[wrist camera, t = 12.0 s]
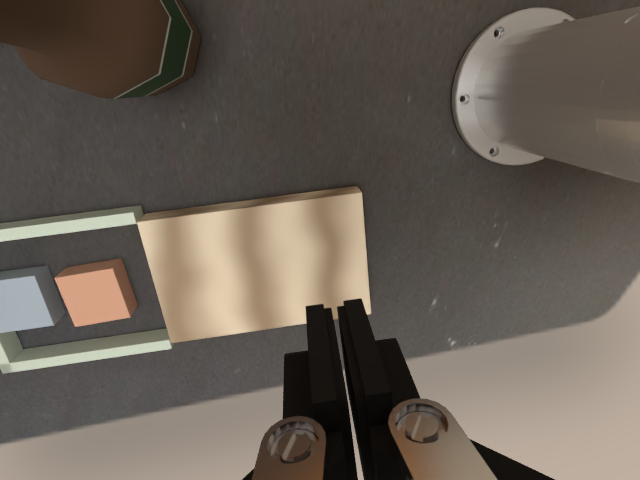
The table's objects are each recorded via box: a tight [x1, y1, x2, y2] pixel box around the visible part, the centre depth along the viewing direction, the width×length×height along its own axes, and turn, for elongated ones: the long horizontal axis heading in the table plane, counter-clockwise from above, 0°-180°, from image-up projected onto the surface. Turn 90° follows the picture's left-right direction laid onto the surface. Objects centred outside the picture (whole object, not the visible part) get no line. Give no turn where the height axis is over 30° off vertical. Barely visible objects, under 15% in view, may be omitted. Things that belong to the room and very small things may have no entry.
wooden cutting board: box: [137, 186, 371, 343], centre depth 39 cm, size 19×12×2 cm, turn 96°
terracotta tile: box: [55, 258, 138, 327], centre depth 38 cm, size 5×5×2 cm
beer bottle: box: [0, 0, 201, 99], centre depth 21 cm, size 8×8×24 cm
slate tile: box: [0, 265, 65, 333], centre depth 38 cm, size 5×5×2 cm
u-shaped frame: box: [0, 205, 174, 374], centre depth 38 cm, size 16×14×2 cm
